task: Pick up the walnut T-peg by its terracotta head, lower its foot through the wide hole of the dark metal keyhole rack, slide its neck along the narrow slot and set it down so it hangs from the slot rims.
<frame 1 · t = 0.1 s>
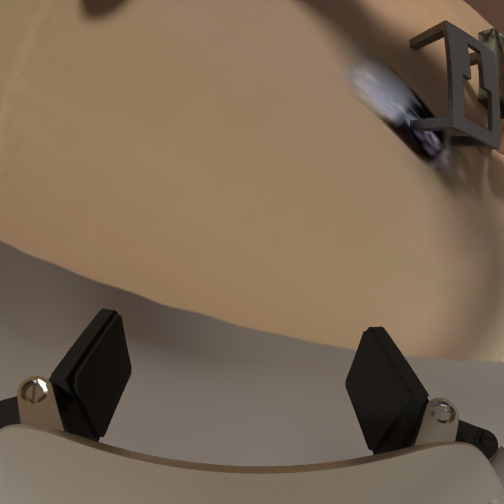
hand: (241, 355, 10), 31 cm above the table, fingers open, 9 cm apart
beverage carton: (488, 73, 30), on the table
t peg: (482, 140, 35), on the table
keyhole rack: (436, 92, 33), on the table
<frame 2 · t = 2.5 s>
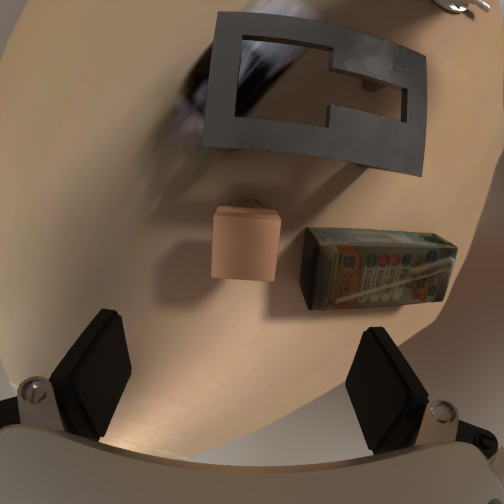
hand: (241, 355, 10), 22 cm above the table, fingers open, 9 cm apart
beverage carton: (371, 257, 33), on the table
t peg: (245, 219, 31), on the table
keyhole rack: (301, 108, 27), on the table
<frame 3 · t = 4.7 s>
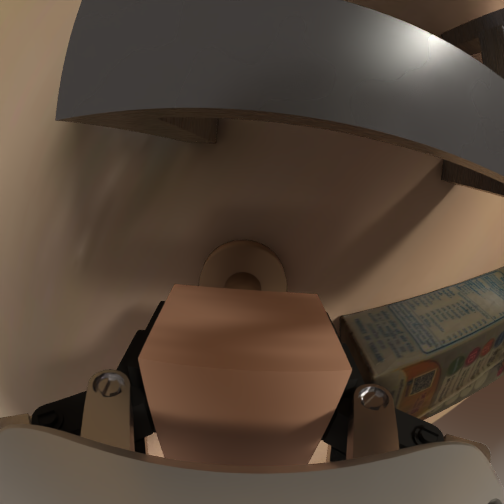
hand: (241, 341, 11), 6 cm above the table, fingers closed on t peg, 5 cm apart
beverage carton: (439, 322, 19), on the table
t peg: (243, 279, 16), on the table, touching gripper
keyhole rack: (352, 66, 12), on the table
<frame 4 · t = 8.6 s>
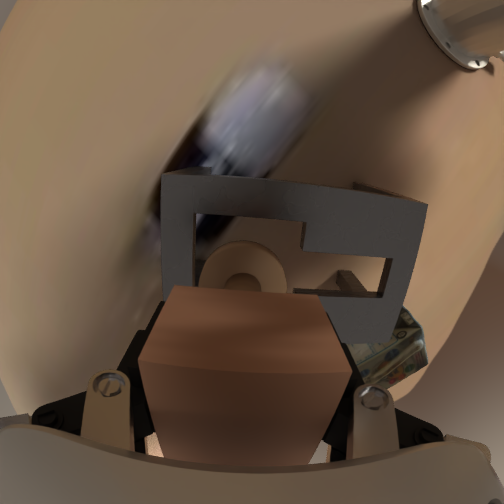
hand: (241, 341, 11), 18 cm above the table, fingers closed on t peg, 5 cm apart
beverage carton: (345, 355, 34), on the table
t peg: (242, 280, 16), point 12 cm above the table, touching gripper
keyhole rack: (279, 228, 28), on the table
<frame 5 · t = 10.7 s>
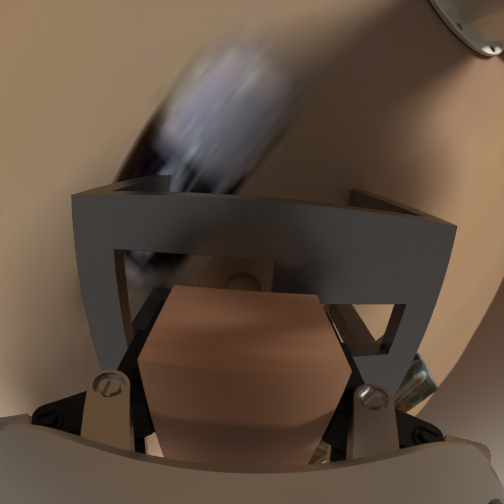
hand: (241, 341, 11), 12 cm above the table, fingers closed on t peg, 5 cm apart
beverage carton: (340, 389, 28), on the table
t peg: (242, 280, 16), point 6 cm above the table, touching gripper
keyhole rack: (257, 249, 22), on the table
when the fingers open (11 cm above the table, at t = 12.7 s): t peg stays where it is, resting on keyhole rack.
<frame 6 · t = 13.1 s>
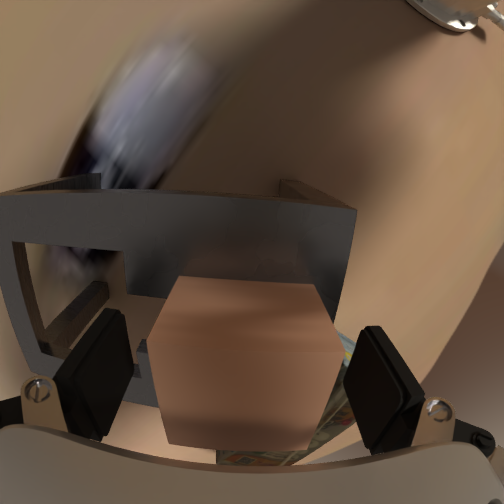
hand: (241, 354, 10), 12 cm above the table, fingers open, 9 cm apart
beverage carton: (291, 394, 27), on the table
t peg: (243, 274, 17), point 5 cm above the table, touching keyhole rack
keyhole rack: (181, 244, 21), on the table
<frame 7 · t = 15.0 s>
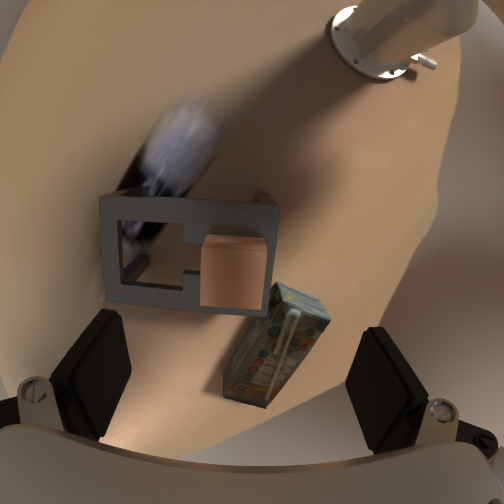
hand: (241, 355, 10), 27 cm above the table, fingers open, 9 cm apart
beverage carton: (269, 338, 42), on the table
t peg: (235, 243, 32), point 5 cm above the table, touching keyhole rack
keyhole rack: (198, 230, 36), on the table
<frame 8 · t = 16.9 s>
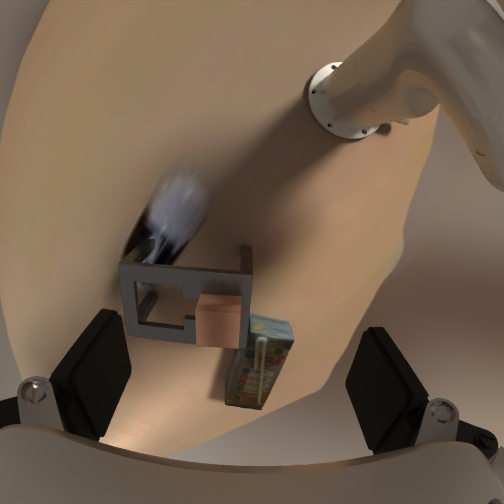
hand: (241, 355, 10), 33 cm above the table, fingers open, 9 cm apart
beverage carton: (255, 354, 51), on the table
t peg: (223, 290, 41), point 5 cm above the table, touching keyhole rack
keyhole rack: (196, 274, 45), on the table
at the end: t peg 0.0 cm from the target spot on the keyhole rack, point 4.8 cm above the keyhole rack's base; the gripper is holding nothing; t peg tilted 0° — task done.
